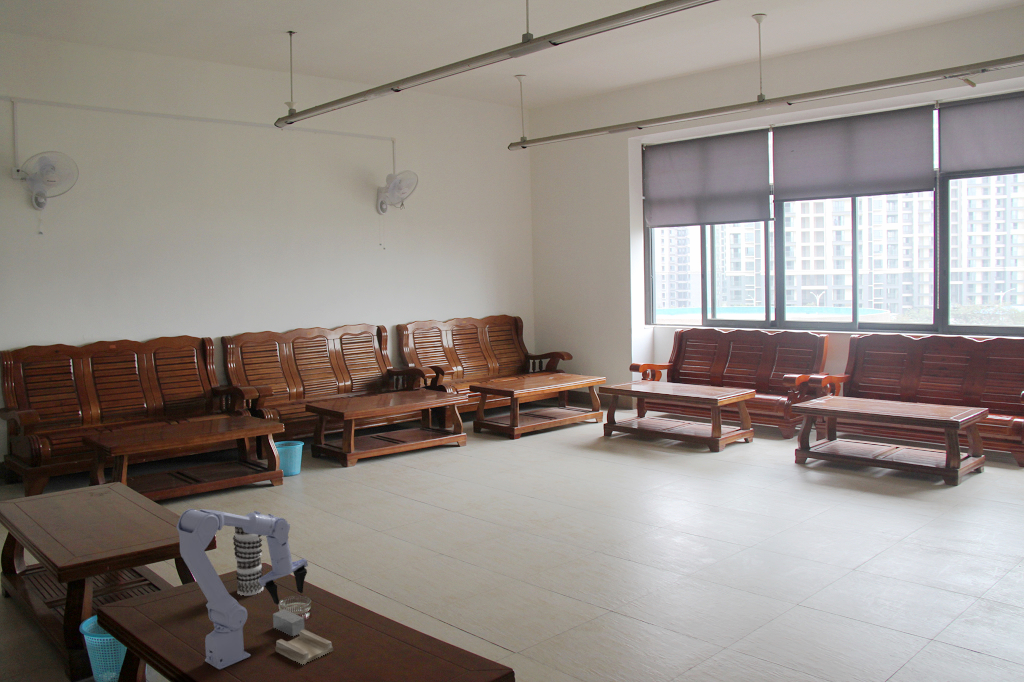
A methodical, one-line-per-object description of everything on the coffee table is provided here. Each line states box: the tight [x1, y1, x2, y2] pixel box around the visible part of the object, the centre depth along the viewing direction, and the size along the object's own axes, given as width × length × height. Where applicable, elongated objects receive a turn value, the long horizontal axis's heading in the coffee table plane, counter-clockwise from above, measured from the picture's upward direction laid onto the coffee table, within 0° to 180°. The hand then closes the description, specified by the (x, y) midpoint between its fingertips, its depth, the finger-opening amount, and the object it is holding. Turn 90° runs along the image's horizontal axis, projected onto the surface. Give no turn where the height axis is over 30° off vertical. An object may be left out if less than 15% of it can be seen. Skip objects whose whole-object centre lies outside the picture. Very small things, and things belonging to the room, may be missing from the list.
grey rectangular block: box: [272, 608, 305, 638], centre depth 232 cm, size 4×10×4 cm, turn 50°
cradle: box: [274, 628, 334, 666], centre depth 218 cm, size 10×13×3 cm
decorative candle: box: [232, 527, 265, 597], centre depth 261 cm, size 9×9×25 cm
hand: (288, 597), depth 231 cm, fingers open, 7 cm apart
